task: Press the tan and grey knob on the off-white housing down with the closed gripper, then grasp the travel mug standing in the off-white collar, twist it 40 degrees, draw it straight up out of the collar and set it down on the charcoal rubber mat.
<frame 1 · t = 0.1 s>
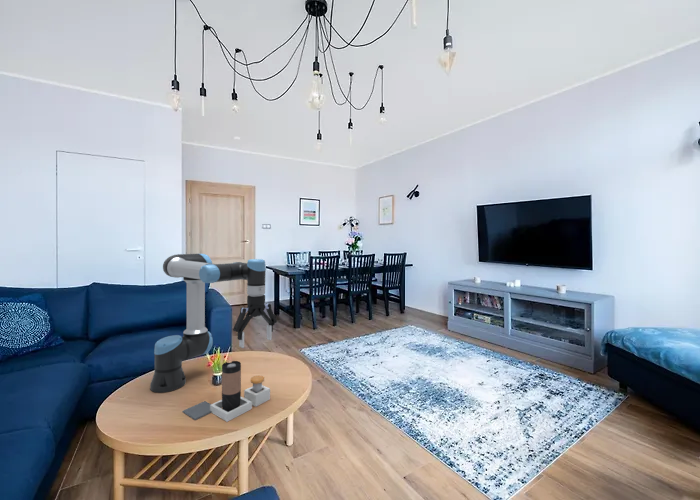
hand: (255, 343, 136), 28 cm above the table, fingers open, 13 cm apart
travel mug: (231, 410, 133), resting in socket collar
socket collar: (231, 410, 133), on the table
tan and grey knob: (257, 386, 141), point 6 cm above the table, slide at 0.0 cm
plunger housing: (257, 400, 142), on the table
mat: (200, 410, 132), on the table
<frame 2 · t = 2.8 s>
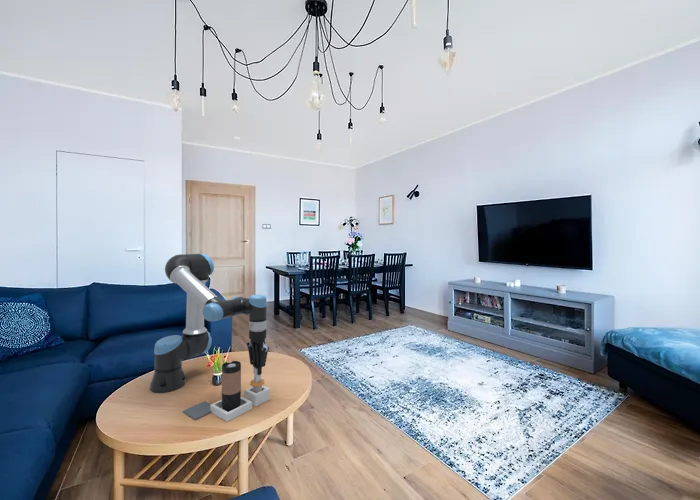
hand: (257, 381, 141), 9 cm above the table, fingers closed
tan and grey knob: (257, 389, 141), point 5 cm above the table, slide at 1.4 cm, touching gripper
everything else where it was.
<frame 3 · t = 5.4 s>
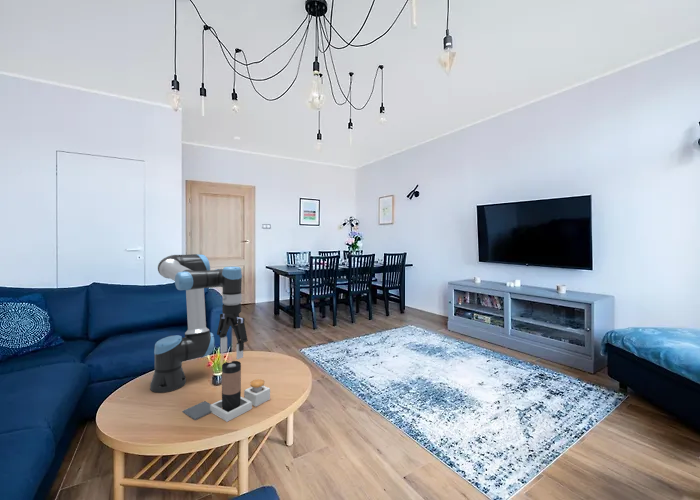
hand: (231, 355, 132), 24 cm above the table, fingers open, 10 cm apart
tan and grey knob: (257, 390, 141), point 4 cm above the table, slide at 1.8 cm
everything else where it was.
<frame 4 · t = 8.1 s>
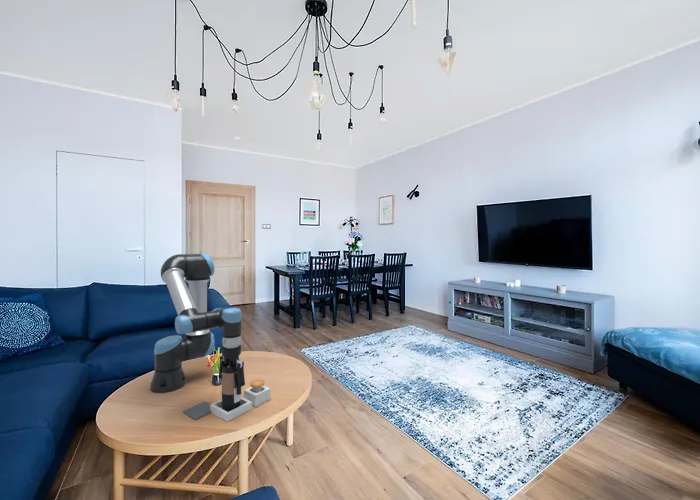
hand: (231, 398, 133), 5 cm above the table, fingers closed on travel mug, 8 cm apart
travel mug: (231, 410, 133), resting in socket collar, touching gripper
everything else where it was.
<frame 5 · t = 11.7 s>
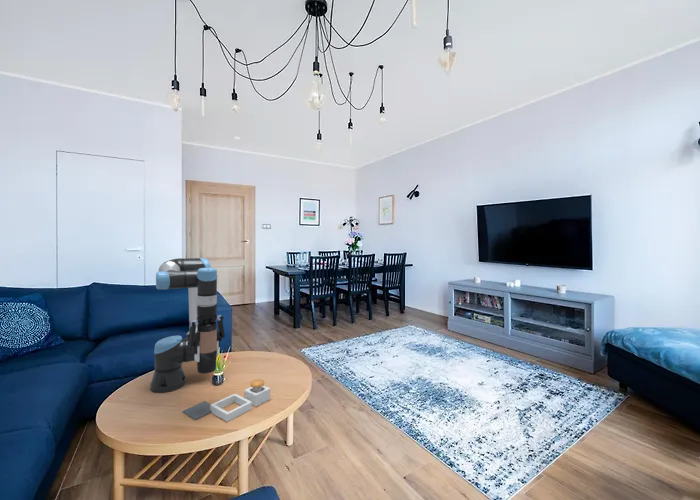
hand: (206, 357, 132), 22 cm above the table, fingers closed on travel mug, 8 cm apart
travel mug: (206, 370, 132), point 17 cm above the table, touching gripper
everything else where it was.
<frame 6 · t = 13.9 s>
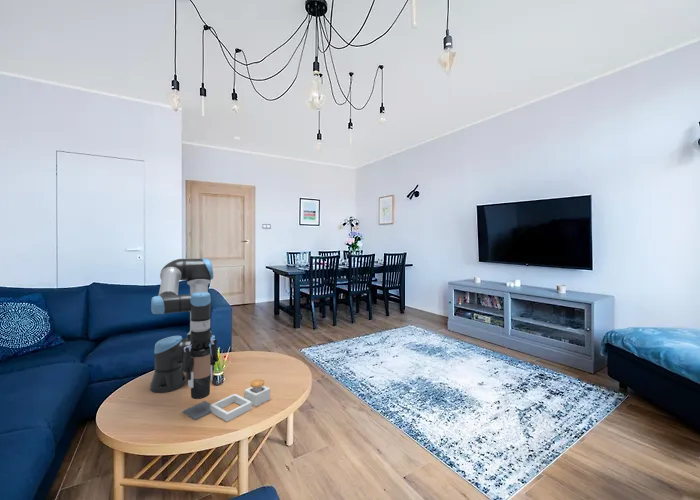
hand: (200, 383, 131), 12 cm above the table, fingers closed on travel mug, 8 cm apart
travel mug: (200, 395, 132), point 7 cm above the table, touching gripper
everything else where it was.
when the fingers open (7 cm above the table, at t = 15.4 s): travel mug drops 1 cm, resting on mat.
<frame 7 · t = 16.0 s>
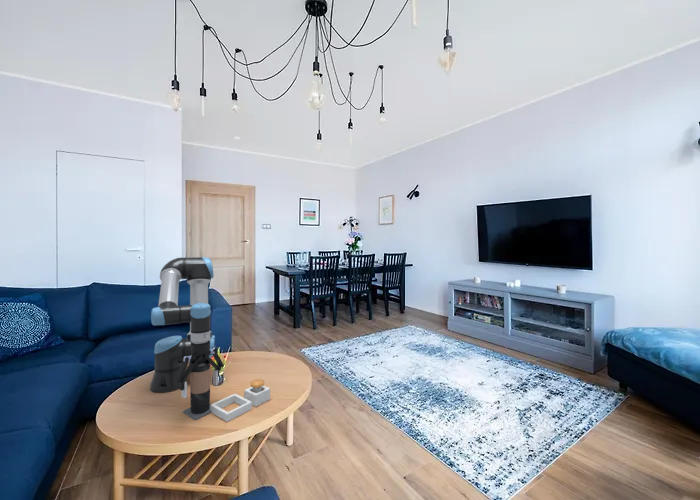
hand: (200, 390, 132), 9 cm above the table, fingers open, 13 cm apart
travel mug: (200, 409, 132), resting on mat
everything else where it was.
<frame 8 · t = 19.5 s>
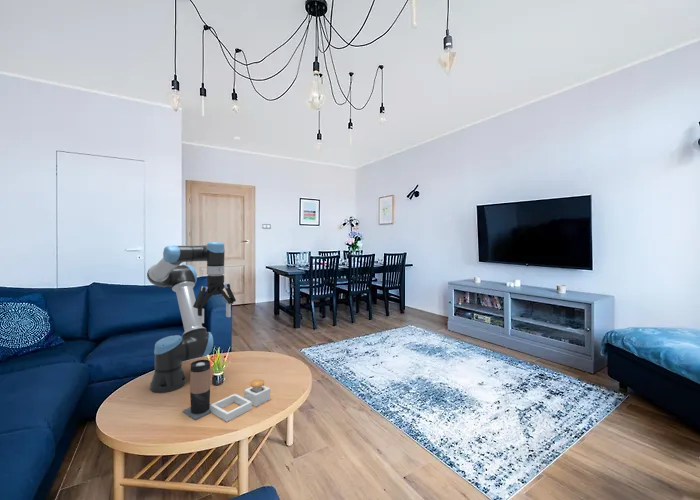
hand: (215, 319, 147), 35 cm above the table, fingers open, 13 cm apart
nothing on the table moved.
at the end: tan and grey knob slide at 1.8 cm; travel mug inside the target area on the mat (0.0 cm from its centre), point 0.4 cm above the mat's base; travel mug tilted 0° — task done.
